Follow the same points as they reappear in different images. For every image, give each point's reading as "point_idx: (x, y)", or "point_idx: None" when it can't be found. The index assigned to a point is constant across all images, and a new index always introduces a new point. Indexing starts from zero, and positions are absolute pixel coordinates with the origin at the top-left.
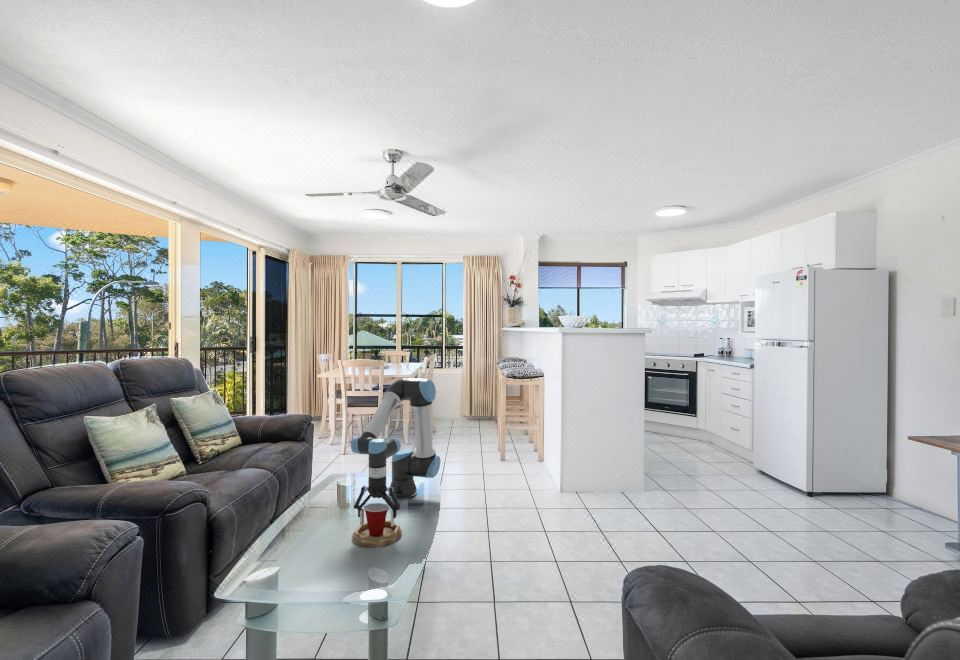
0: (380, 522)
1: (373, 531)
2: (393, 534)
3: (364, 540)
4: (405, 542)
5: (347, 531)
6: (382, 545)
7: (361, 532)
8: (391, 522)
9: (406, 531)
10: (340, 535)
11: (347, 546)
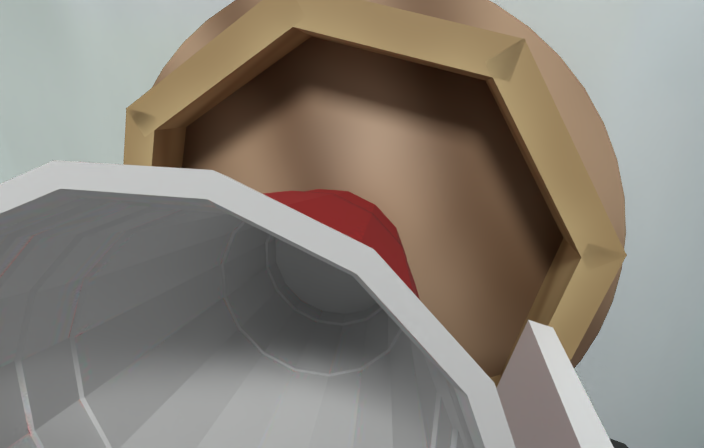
0: (349, 444)
1: (296, 348)
2: None
3: None
4: (611, 434)
5: (69, 84)
6: None
7: None
8: (512, 433)
9: (682, 210)
10: (41, 159)
11: None
